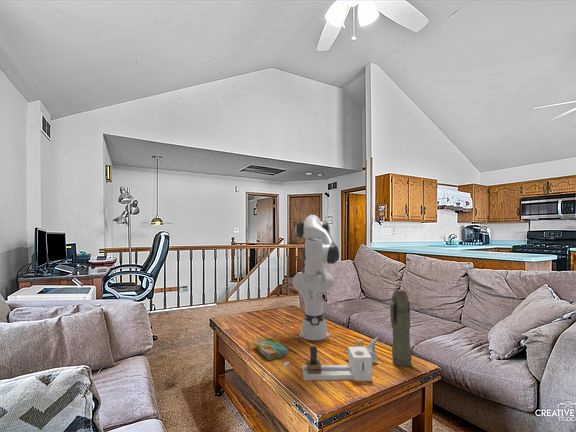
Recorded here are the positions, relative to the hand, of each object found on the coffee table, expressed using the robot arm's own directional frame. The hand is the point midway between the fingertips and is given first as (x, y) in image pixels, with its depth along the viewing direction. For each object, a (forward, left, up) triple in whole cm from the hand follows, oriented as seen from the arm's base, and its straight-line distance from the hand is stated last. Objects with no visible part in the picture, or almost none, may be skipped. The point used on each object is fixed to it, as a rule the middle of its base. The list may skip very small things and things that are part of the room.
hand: (314, 300), depth 146 cm
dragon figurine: (-12, +26, -33) cm, 43 cm away
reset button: (+5, +20, -20) cm, 28 cm away
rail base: (+6, +9, -32) cm, 34 cm away
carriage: (+5, -1, -30) cm, 31 cm away
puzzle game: (-21, -23, -33) cm, 46 cm away
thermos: (-6, +43, -33) cm, 54 cm away
